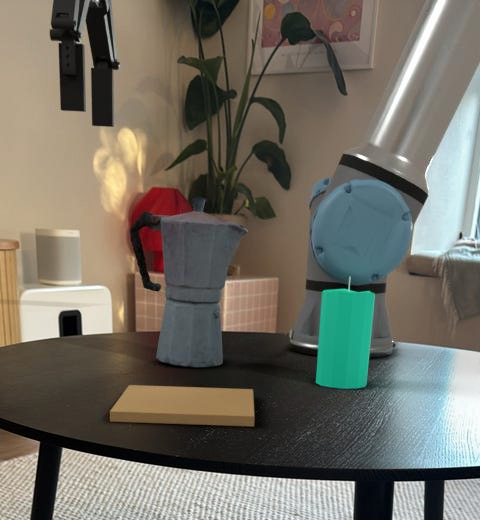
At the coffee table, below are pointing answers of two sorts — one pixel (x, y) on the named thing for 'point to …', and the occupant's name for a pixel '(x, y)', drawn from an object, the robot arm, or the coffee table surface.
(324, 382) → the candle
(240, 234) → the moka pot
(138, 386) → the cork trivet
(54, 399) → the coffee table surface
